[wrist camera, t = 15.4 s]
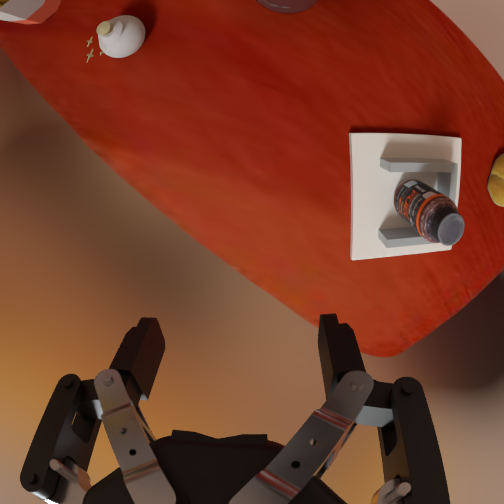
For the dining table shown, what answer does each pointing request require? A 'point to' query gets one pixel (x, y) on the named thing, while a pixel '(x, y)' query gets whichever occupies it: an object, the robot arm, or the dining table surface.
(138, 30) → the ornament
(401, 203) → the supplement bottle
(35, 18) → the french fries container
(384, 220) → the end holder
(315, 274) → the dining table surface
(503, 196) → the bread roll
